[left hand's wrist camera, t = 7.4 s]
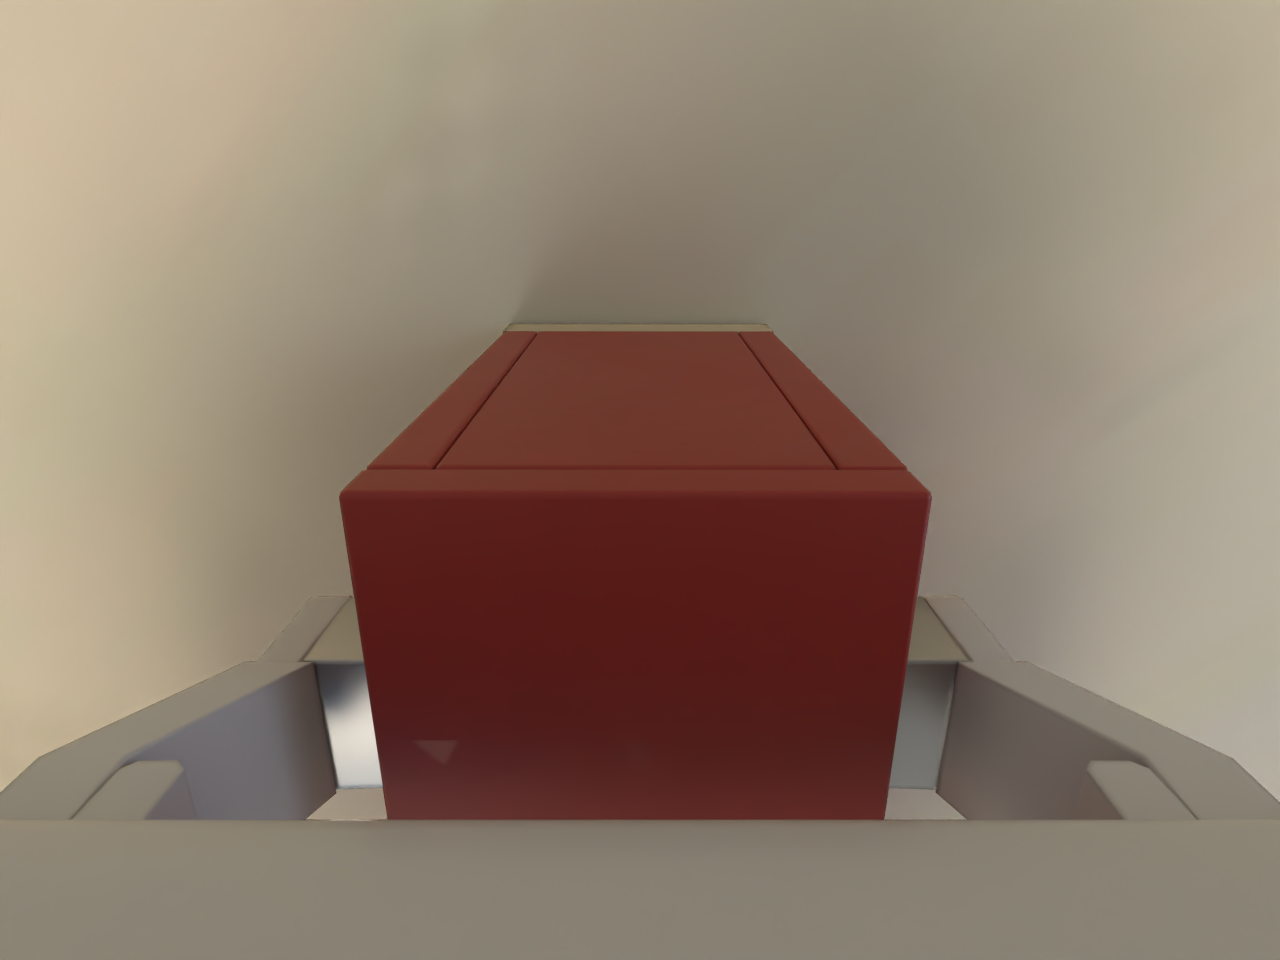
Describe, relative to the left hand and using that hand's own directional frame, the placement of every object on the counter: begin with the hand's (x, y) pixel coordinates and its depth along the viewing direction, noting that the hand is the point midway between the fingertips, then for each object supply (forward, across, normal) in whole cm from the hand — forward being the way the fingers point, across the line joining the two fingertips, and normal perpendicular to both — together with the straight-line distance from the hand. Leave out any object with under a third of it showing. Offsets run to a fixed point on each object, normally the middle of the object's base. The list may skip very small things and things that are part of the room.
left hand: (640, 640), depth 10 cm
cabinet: (+8, 0, -7) cm, 10 cm away
